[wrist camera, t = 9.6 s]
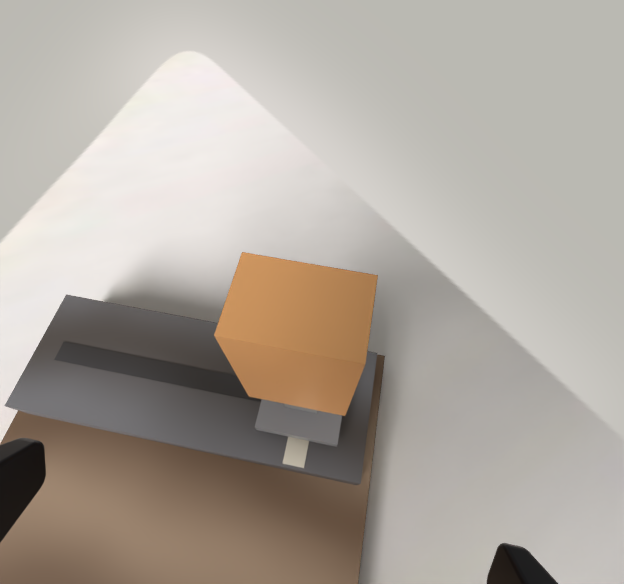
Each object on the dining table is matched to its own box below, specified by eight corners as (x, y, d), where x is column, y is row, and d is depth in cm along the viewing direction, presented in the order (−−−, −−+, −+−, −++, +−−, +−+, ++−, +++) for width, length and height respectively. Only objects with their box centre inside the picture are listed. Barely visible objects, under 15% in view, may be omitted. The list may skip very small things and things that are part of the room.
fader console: (339, 693, 14) (346, 738, 11) (-49, 590, 15) (-126, 608, 12) (379, 365, 19) (390, 343, 17) (93, 311, 21) (60, 282, 18)
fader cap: (336, 446, 14) (361, 390, 7) (256, 429, 15) (206, 359, 8) (348, 368, 16) (380, 255, 9) (275, 354, 16) (247, 233, 9)
